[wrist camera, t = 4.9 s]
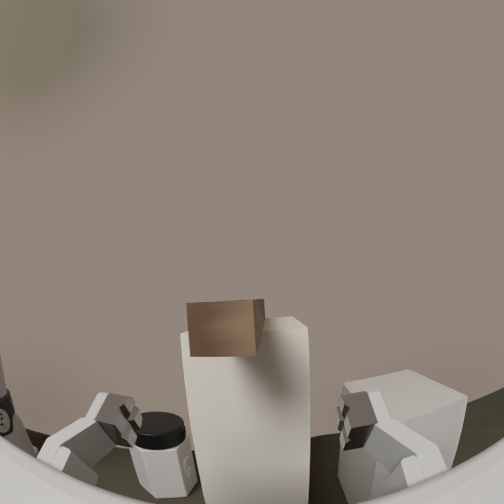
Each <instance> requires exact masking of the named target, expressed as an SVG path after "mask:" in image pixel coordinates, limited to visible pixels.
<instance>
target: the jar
mask: <svg viewBox="0 0 504 504" xmlns="http://www.w3.org/2000/svg"><path fill="white" fill-rule="evenodd" d="M141 415H142V424H141V427H140V429H139V430H137V431H136V435H137V438H136V441H135V444H134V447H133V448H130V447H129V449H130V453H131V456H132V460H133V463H134V467H135V470H136V473H137V476H138V479H139V482H140V484H141V485H142V486H143V487H144V488H145V489H146V490H147V491H148V492H149V493H150V494H152V495H153V496H154V497H155V498H177V497H187V496H188V495H189V493H190V492H191V490H192V489H193V487H194V486H195V484H196V483H197V481H198V480H197V475H196V471H195V466H194V461H193V455H192V450H191V445H190V439H189V436H188V435H187V434H186V430H185V426H184V421H183V420H182V418H181V417H179V416H177V415H175V414H172V413H167V412H146V413H141Z"/></svg>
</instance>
